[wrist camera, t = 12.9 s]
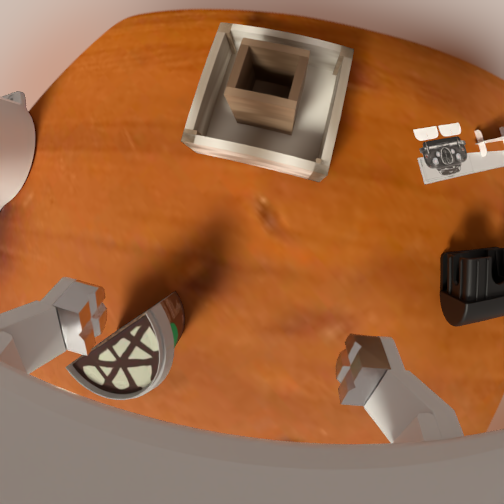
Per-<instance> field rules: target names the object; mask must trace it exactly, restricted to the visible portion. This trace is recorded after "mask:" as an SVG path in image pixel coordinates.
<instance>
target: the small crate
mask: <svg viewBox="0 0 504 504" xmlns="http://www.w3.org/2000/svg"><path fill="white" fill-rule="evenodd" d="M309 56H310V51H309V50H305V49H301V48H296V47H292V46H287V45H282V44H278V43H272V42H267V41H261V40H256V39H249V38H243V39H242V41H241V44H240V47H239V50H238V53H237V56H236V59H235V62H234V65H233V68H232V71H231V74H230V77H229V80H228V83H227V86H226V89H225V92H224V96H225V98H226V100H227V102H228V104H229V106H230V108H231V111H232V113H233V115H234V117H235V119H236V121H237V123H240V124H245V125H249V126H254V127H258V128H263V129H267V130H271V131H275V132H279V133H283V134H287V135H292V131H293V128H294V124H295V120H296V116H297V112H298V108H299V104H300V101H301V97H302V93H303V89H304V84H305V78H306V73H307V67H308V61H309Z"/></svg>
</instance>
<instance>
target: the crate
mask: <svg viewBox="0 0 504 504" xmlns="http://www.w3.org/2000/svg"><path fill="white" fill-rule="evenodd" d="M243 38H249V39H256V40H261V41H267V42H272V43H278V44H282V45H287V46H292V47H296V48H301V49H305V50H309V51H310V56H309V61H308V67H307V73H306V78H305V84H304V89H303V93H302V97H301V101H300V104H299V108H298V112H297V116H296V120H295V124H294V128H293V131H292V135H287V134H283V133H279V132H275V131H271V130H267V129H263V128H258V127H254V126H249V125H245V124H240V123H237V121H236V119H235V117H234V115H233V113H232V111H231V108H230V106H229V104H228V102H227V100H226V98H225V96H224V92H225V89H226V86H227V83H228V80H229V77H230V74H231V71H232V68H233V65H234V62H235V59H236V56H237V53H238V50H239V47H240V44H241V41H242V39H243ZM353 52H354V49H352V48H348V47H345V46H342V45H338V44H334V43H331V42H327V41H323V40H319V39H315V38H311V37H306V36H302V35H297V34H293V33H288V32H283V31H277V30H272V29H266V28H260V27H253V26H246V25H238V24H230V23H220V26H219V28H218V31H217V34H216V36H215V39H214V42H213V44H212V47H211V50H210V52H209V55H208V58H207V61H206V64H205V67H204V69H203V72H202V75H201V78H200V81H199V84H198V87H197V90H196V93H195V96H194V100H193V103H192V106H191V109H190V112H189V116H188V119H187V122H186V126H185V129H184V132H183V136H182V139H181V142H183V143H184V144H185V145H187V146H188V147H189V148H191V149H192V150H193V151H195V152H196V153H200V154H205V155H210V156H214V157H219V158H224V159H228V160H233V161H237V162H242V163H246V164H250V165H254V166H259V167H263V168H267V169H271V170H275V171H279V172H283V173H287V174H290V175H294V176H298V177H302V178H305V179H309V180H313V181H316V182H320V181H321V180H322V179H323V178H325V177H326V176H327V174H328V170H329V166H330V161H331V157H332V153H333V148H334V144H335V140H336V135H337V131H338V126H339V122H340V117H341V112H342V108H343V103H344V98H345V93H346V88H347V83H348V78H349V73H350V68H351V63H352V57H353Z"/></svg>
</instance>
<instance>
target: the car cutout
mask: <svg viewBox="0 0 504 504" xmlns="http://www.w3.org/2000/svg"><path fill="white" fill-rule="evenodd" d="M438 127H439V130H440V133H441V134H442V135H443V136H452V135H458V134H460V133H461V128H460V125H459V123H454V124H447V125H440V126H438ZM499 129H500V133H501V136H502V137H498V138H495V139H489V140H486V141H484V139H483V136H482V133H481V131H480V130H476V131H474V132H475V135H476V138H477V141H478V143H476V144H478V145H479V148H480V152H476V153H467V152H466V149H465V146H464V145H465V144H466V143H465V141H461V140H460V138H459V137H451V138H445V139H439V140H434V141H428V142H426V143H425V142H424V143H423V148H420V149H419V150H420V153H423V157H422V158H417V159H418V162H419V166H420V169H421V173H422V177H423V181H424V184H429V183H433V182H437V181H442V180H446V179H450V178H455V177H459V176H463V175H468V174H472V173H477V172H481V171H485V170H490V169H495V168H499V167H504V151H491V152H487V149H486V146H485V143H489V142H495V141H502V140H503V143H504V127H500V128H499ZM413 131H414V134H415V137H416V138H417V139H418V140H420V141H422V140H428V139H434V138H437V137H438V130H437V127H436V126H433V127H427V128H421V129H415V130H413ZM451 132H452V133H451ZM457 139H458V140H457Z"/></svg>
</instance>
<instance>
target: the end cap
mask: <svg viewBox="0 0 504 504" xmlns="http://www.w3.org/2000/svg"><path fill="white" fill-rule="evenodd" d="M440 261H441V277H440V302H441V307H442V311H443V314H444V316H445V318H446V320H447V321H448V323H450V324H451V325H453V326H462V325H466V324H471V323H475V322H480V321H484V320H488V319H492V318H497V317H501V316H504V248H498V247H491V248H482V249H473V250H464V251H455V252H446V253H443V254H442V255H441V258H440Z"/></svg>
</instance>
